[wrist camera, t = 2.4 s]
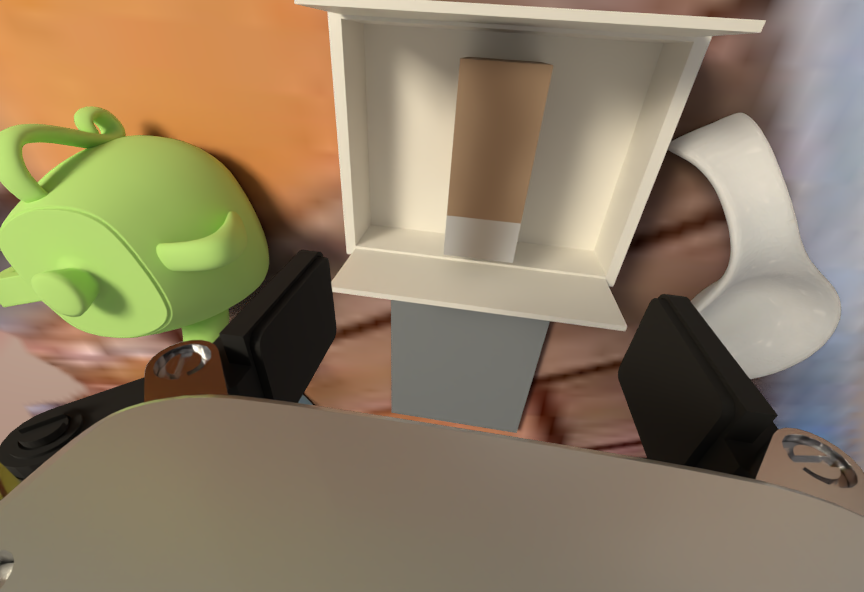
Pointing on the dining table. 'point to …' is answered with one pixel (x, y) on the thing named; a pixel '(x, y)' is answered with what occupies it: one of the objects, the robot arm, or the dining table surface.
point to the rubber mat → (463, 364)
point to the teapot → (128, 232)
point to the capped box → (493, 154)
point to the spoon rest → (759, 254)
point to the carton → (554, 159)
